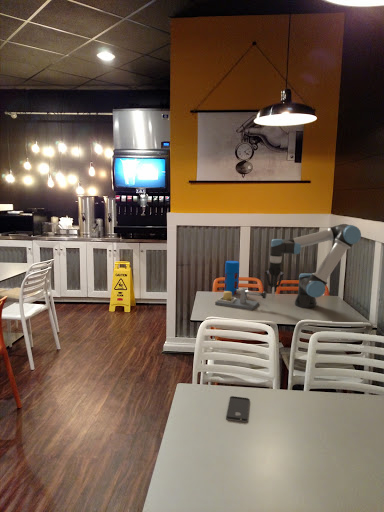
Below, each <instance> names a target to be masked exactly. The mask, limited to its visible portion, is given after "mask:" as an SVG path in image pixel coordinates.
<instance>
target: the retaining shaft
mask: <svg viewBox="0 0 384 512" xmlns="http://www.w3.org/2000/svg"><path fill="white" fill-rule="evenodd" d="M236 292H237V293H238V294H241V289H239V288H238V289H237V291H236ZM245 294H247V295H250V296H257V297H262V299H264V300H265V299H267V295H268V294H267V291H265V290H263V292H260V291H251V290H247V291H246V290H245Z"/></svg>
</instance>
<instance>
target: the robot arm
mask: <svg viewBox="0 0 384 512" xmlns="http://www.w3.org/2000/svg"><path fill="white" fill-rule="evenodd" d="M361 237H362V232H361V230H360V229H359V227H357V226H355V225H354V224H353V225H352V224H346V223H342V224H338V225H334V226H331V227H327V229H324V230H320V231H317V232H314V233H309V234H305V235H302V236H297V237H294V238H290V239H289V238H288V239H285V238H284V239H282V238H273V239H271V243H270V256H269V268H268V270H265V271H264V272H265V275H266V279H267V280H266V281H267V285H268V286H269V287H270V292H271V297H273V298H274V297H275V296H276V295H275V294H276V292H277V291H278V289H277V288H279V287H280V286H281V283H282V279H283V277H284V276H285V272H282V259H283V258H282V257H283V254H289V255H299V254H300V253H301V251H302V248H304V247H308V246H313V245H316V244H320V243H321V244H322V243H324V242H328V241H331V242H333V241H334V244H333V246H332V247H331V249H330V250H329V251H328V253H327V255H326V256H325V258H324V260H323V261H322V262H321V263H320V265H319V267H318V268H317V270H316V271H315V272H313V273H308V272H307V273H306V272H305V273H304V272H303V273H300V274H299V276H298V289H297V290H298V291H297V295H296V297H295V300H294V305H295V306H296V307H300V308H306V309H314V308H316V307H317V306H318V305H317V304H318V303H317V300H316V299H317V298H320V297H321V296H323V295H324V293H326V286H327V285H328V278H330V275H331V274H332V273H333V271H334V270H335V268H336V267H337V265H338V263H339V262H340V261H341V260H342V257H343V256H344V255H345V253H346V252H347V250H350V249H352V247H353V245H354V244H357V243H359V241H360V240H361ZM279 275H280V276H279ZM278 277H279V280H278Z"/></svg>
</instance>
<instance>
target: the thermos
mask: <svg viewBox="0 0 384 512" xmlns="http://www.w3.org/2000/svg"><path fill="white" fill-rule="evenodd" d="M224 265H225V267H224V289H223V290H224V291H230V292H232V296H235V295H238V294H239V293H237V292H236V291H237V289H238V290H239V279H240V262H239V261H238V260H237V261H236V260H225V264H224ZM224 291H223V292H224Z"/></svg>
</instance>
